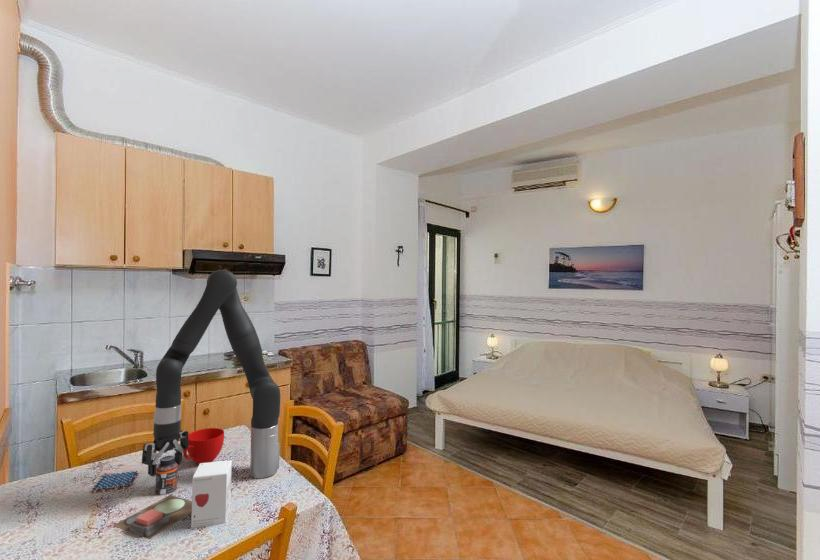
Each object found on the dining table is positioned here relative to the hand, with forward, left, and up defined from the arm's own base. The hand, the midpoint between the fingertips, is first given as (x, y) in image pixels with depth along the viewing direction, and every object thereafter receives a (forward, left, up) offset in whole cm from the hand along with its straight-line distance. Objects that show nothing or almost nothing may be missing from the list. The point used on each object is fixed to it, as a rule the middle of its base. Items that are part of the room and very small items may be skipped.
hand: (165, 469), depth 126 cm
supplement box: (+5, +25, -8) cm, 27 cm away
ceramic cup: (-20, -8, -8) cm, 23 cm away
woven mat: (+2, -21, -8) cm, 22 cm away
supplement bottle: (0, 0, -8) cm, 8 cm away
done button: (+15, +14, -5) cm, 21 cm away
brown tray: (+10, +11, -8) cm, 17 cm away
